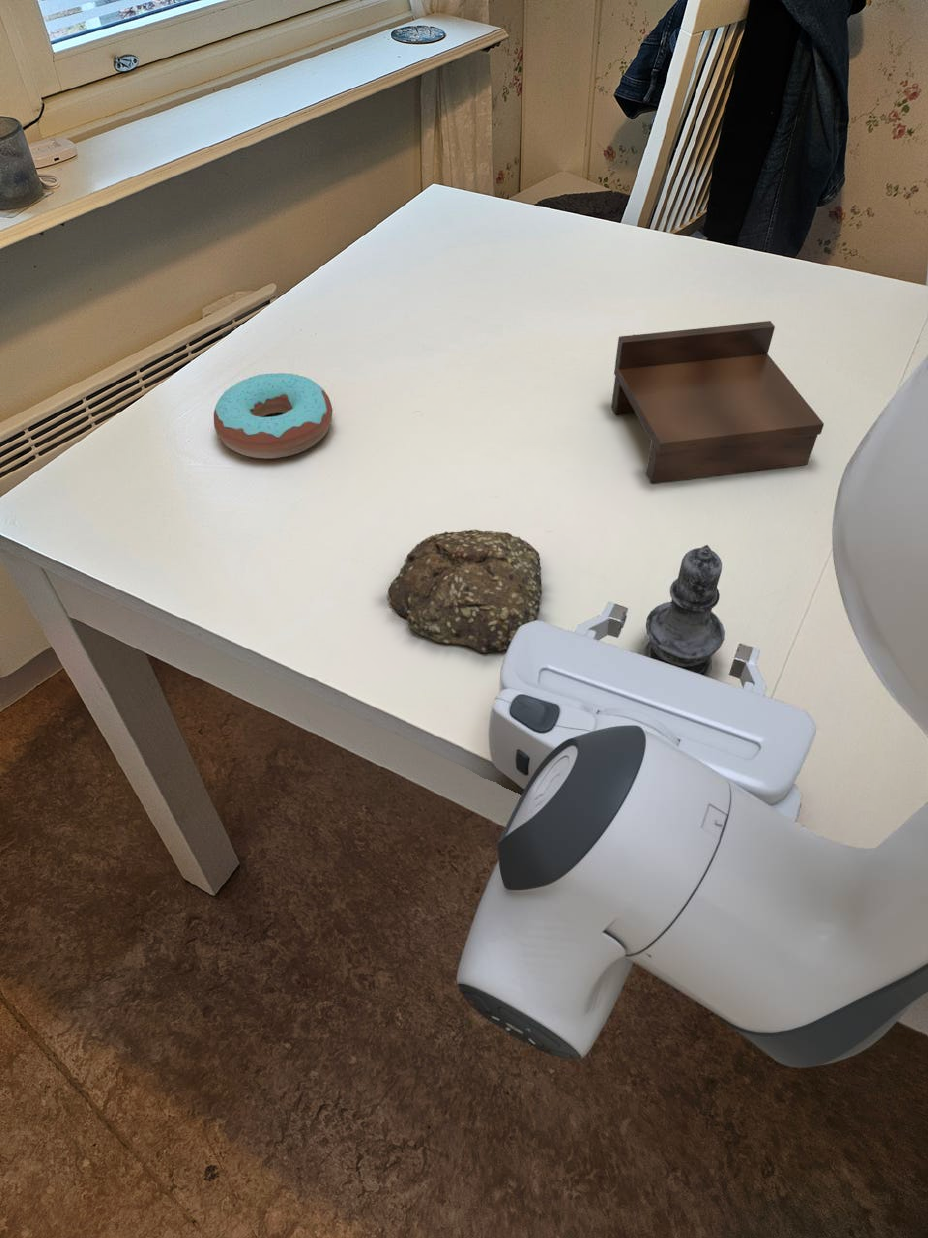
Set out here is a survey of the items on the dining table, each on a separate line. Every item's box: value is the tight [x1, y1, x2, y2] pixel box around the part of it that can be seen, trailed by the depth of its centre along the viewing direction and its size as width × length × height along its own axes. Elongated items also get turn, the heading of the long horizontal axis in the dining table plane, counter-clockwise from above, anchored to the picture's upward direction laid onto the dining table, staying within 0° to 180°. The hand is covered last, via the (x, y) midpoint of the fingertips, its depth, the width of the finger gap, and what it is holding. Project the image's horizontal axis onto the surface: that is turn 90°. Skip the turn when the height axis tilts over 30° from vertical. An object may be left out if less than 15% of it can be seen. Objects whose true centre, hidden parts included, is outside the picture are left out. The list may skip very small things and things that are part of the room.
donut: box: [213, 372, 333, 460], centre depth 88 cm, size 12×12×4 cm
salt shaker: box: [642, 544, 726, 677], centre depth 64 cm, size 6×6×12 cm
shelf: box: [610, 320, 825, 485], centre depth 86 cm, size 16×14×8 cm
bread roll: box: [387, 529, 543, 654], centre depth 71 cm, size 13×12×5 cm
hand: (681, 630), depth 61 cm, fingers open, 8 cm apart
